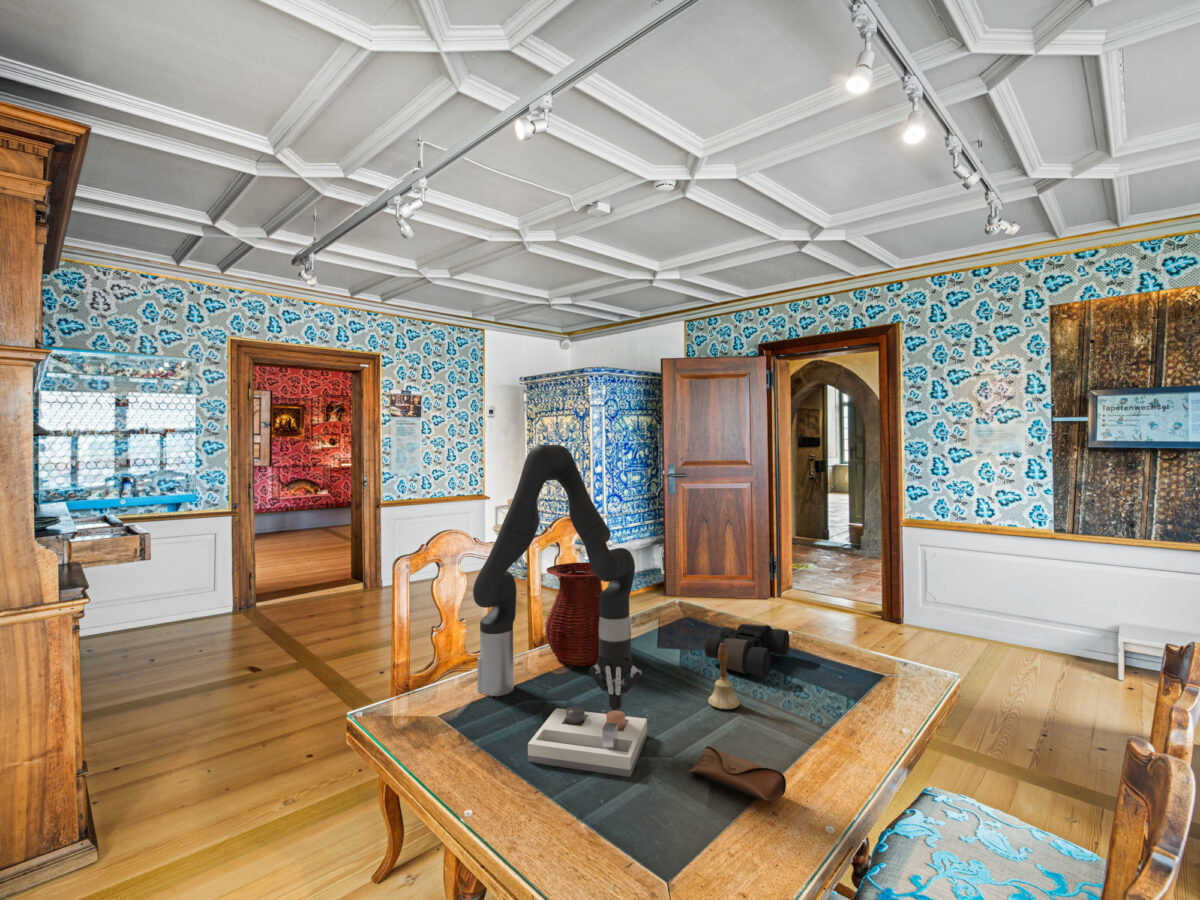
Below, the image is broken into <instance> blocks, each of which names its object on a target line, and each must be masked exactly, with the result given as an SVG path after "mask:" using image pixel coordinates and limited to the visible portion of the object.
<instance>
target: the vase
mask: <svg viewBox="0 0 1200 900" xmlns="http://www.w3.org/2000/svg"><path fill="white" fill-rule="evenodd" d="M545 571H546V573H548V574H550V575H554V576H558V577H559V587H558V591H557V594H556V597H555V599H554V601H553V604H552V606H551V609H550V611H549V614H548V615H547V616H548V617H547V618H546V622H545V623H544V624H545V637H546V640H547V643H548V645H549V647H550V650H552V653H553V654H554V656H555V657H556V658H557V659H558V660H559V661H560V662H561V663H564V664H565V665H572V666H577V667H579V666H580V667H584V666H590V665H591V666H592V665H595V664H597V661H598V659H599V619H600V606H599V602H600V594H601V592H602V591H604V590H603V588H602V587H603V586H602V585H603V584H602V582H601V581H602V580H600V579H599V578H598V577H597V576H596V575H595V574H594V573H593V571H592V569H591V566H590V563H589V562H568V563H567V562H566V563H561V564H555V565H552V566H549V567H546V570H545Z"/></svg>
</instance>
